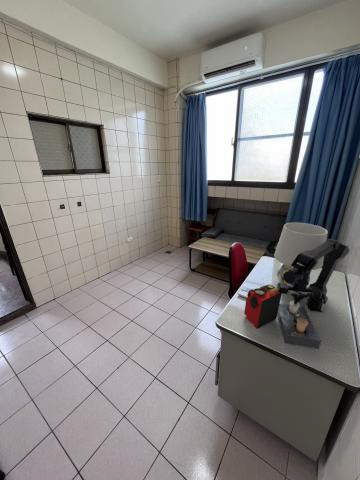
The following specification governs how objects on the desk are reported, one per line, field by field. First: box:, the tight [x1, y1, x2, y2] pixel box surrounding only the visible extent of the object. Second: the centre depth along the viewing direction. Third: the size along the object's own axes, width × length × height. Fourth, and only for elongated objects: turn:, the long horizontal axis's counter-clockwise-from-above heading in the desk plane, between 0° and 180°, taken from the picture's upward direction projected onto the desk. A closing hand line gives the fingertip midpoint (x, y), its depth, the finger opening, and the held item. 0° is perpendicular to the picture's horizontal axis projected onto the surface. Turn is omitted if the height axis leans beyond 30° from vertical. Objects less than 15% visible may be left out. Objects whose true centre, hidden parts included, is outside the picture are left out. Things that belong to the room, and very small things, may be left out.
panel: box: [276, 303, 322, 350], centre depth 100 cm, size 14×22×5 cm, turn 168°
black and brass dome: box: [293, 313, 301, 322], centre depth 99 cm, size 3×3×4 cm
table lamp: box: [273, 222, 328, 287], centre depth 128 cm, size 27×27×40 cm
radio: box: [243, 284, 283, 330], centre depth 103 cm, size 16×10×20 cm, turn 118°
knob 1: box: [289, 300, 300, 315], centre depth 104 cm, size 4×4×6 cm
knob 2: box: [295, 318, 308, 333], centre depth 93 cm, size 4×4×6 cm
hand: (294, 303), depth 103 cm, fingers closed
